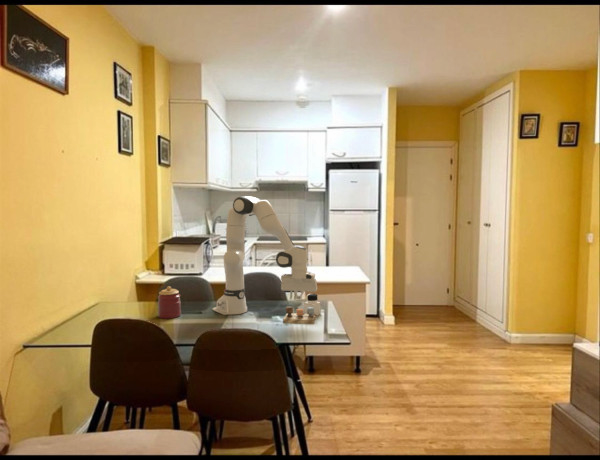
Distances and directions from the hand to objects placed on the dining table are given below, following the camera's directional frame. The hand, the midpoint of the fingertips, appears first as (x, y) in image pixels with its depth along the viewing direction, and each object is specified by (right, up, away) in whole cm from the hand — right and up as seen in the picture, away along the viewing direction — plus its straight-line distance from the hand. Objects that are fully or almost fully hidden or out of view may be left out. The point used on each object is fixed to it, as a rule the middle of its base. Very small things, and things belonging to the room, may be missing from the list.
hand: (298, 298), depth 223 cm
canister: (-76, -12, +12) cm, 78 cm away
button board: (+1, -12, +1) cm, 12 cm away
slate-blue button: (+7, -10, 0) cm, 12 cm away
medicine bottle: (+8, -11, +12) cm, 19 cm away
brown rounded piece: (-5, -10, +2) cm, 11 cm away
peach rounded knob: (+1, -11, +1) cm, 11 cm away
